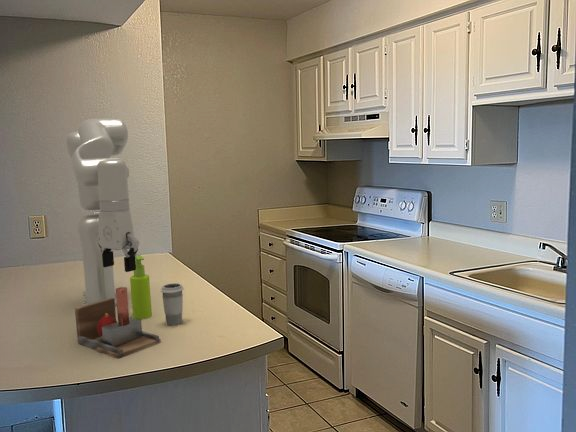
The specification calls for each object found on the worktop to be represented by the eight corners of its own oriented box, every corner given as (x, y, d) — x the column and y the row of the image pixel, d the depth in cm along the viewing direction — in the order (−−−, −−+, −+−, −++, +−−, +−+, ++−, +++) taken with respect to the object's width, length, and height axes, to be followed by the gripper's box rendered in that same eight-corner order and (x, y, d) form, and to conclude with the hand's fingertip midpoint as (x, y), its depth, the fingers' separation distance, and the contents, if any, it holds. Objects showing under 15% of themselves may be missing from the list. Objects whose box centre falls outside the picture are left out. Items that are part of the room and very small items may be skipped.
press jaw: (101, 344, 153) (97, 290, 151) (131, 333, 161) (127, 282, 159) (113, 348, 150) (108, 293, 148) (143, 336, 158) (139, 285, 156)
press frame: (74, 343, 158) (71, 309, 157) (116, 329, 169) (114, 296, 168) (118, 358, 146) (115, 321, 144) (160, 342, 157) (158, 307, 155)
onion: (100, 337, 163) (98, 310, 161) (121, 335, 163) (119, 309, 162) (95, 344, 157) (93, 316, 156) (116, 343, 157) (114, 315, 156)
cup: (174, 328, 168) (171, 289, 166) (158, 325, 171) (155, 287, 170) (190, 321, 174) (188, 283, 172) (174, 318, 177) (172, 281, 176)
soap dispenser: (136, 321, 176) (131, 258, 173) (131, 315, 182) (126, 255, 179) (154, 318, 179) (150, 256, 176) (149, 312, 185) (145, 252, 182)
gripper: (83, 205, 152) (88, 267, 155) (122, 210, 142) (127, 276, 144) (107, 202, 158) (112, 261, 161) (146, 206, 148) (150, 269, 150)
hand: (119, 268), depth 153 cm, fingers open, 9 cm apart
